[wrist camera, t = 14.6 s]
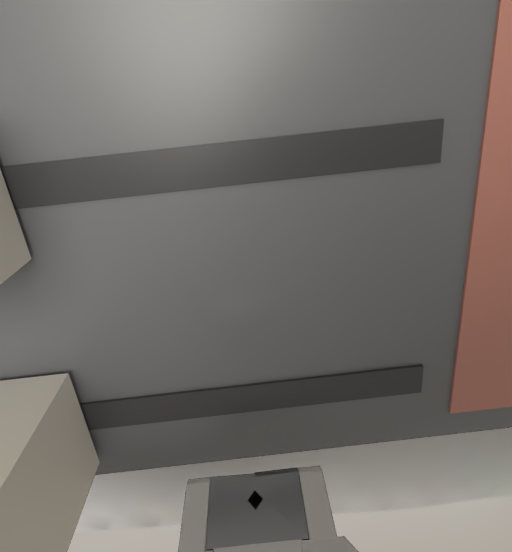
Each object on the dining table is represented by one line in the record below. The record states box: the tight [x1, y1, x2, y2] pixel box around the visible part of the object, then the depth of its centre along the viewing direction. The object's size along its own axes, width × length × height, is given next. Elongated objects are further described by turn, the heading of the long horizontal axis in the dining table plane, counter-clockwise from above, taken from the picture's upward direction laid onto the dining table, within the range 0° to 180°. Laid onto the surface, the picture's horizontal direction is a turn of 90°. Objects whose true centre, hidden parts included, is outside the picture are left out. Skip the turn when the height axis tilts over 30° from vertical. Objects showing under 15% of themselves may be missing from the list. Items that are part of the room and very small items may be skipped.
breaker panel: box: [0, 0, 512, 475], centre depth 11 cm, size 20×19×3 cm
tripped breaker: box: [0, 373, 99, 552], centre depth 10 cm, size 2×4×5 cm
